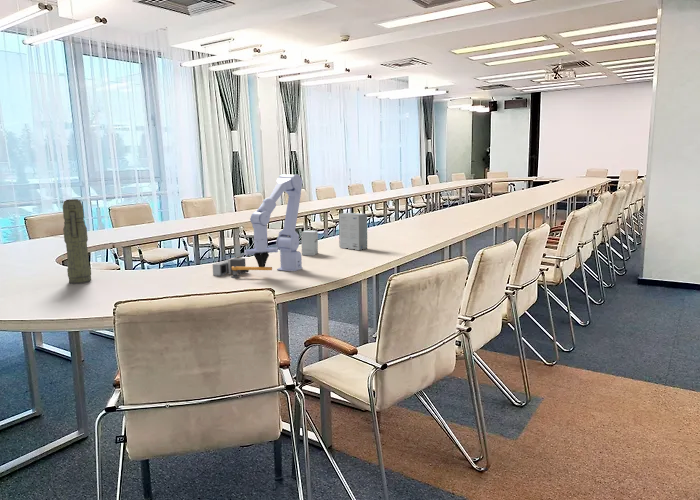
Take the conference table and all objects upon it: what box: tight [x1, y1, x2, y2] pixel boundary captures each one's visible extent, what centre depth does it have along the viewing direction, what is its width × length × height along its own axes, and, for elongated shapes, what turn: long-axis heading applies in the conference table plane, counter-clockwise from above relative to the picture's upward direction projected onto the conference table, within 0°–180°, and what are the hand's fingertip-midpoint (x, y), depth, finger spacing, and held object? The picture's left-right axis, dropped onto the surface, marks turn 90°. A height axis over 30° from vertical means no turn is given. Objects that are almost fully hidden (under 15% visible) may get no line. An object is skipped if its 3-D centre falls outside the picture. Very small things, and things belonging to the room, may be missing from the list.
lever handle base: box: [230, 270, 240, 279], centre depth 231 cm, size 4×4×3 cm
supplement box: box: [300, 230, 319, 256], centre depth 283 cm, size 7×7×13 cm
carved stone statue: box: [62, 198, 92, 285], centre depth 223 cm, size 9×12×35 cm
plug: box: [227, 257, 250, 275], centre depth 239 cm, size 9×5×6 cm, turn 67°
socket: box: [212, 259, 229, 277], centre depth 241 cm, size 4×16×5 cm, turn 157°
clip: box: [232, 266, 273, 271], centre depth 230 cm, size 3×18×2 cm, turn 84°
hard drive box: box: [338, 212, 368, 251], centre depth 299 cm, size 16×8×20 cm, turn 49°
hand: (261, 269), depth 232 cm, fingers closed
